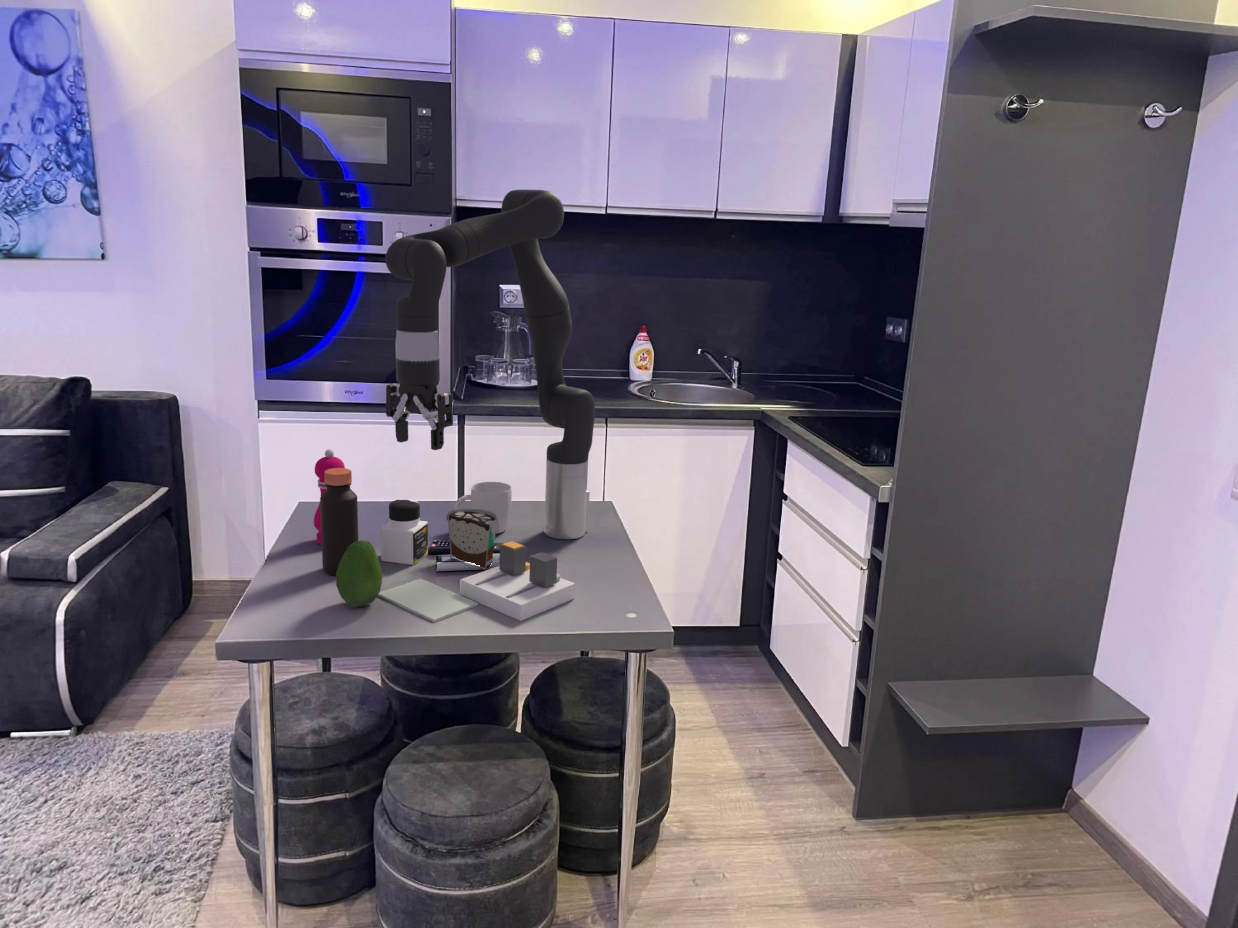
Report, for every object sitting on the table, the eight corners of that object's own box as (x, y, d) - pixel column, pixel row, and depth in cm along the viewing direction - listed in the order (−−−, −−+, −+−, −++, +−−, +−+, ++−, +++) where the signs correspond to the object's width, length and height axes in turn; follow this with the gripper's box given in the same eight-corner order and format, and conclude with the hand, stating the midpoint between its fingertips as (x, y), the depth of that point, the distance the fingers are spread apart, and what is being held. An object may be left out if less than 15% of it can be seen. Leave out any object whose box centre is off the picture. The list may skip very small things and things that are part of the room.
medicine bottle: (414, 565, 179) (413, 508, 176) (380, 561, 180) (379, 504, 177) (428, 553, 185) (428, 498, 182) (396, 549, 187) (395, 494, 184)
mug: (508, 522, 207) (509, 481, 204) (513, 535, 199) (514, 492, 196) (452, 524, 204) (452, 482, 202) (455, 537, 196) (455, 493, 193)
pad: (421, 580, 171) (421, 578, 171) (477, 605, 162) (477, 603, 162) (377, 595, 164) (377, 593, 164) (434, 622, 154) (434, 619, 154)
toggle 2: (540, 577, 168) (541, 552, 166) (556, 583, 165) (557, 557, 164) (529, 581, 165) (530, 556, 164) (545, 587, 163) (545, 561, 162)
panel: (514, 574, 177) (514, 556, 176) (574, 598, 167) (575, 579, 166) (459, 594, 166) (460, 575, 165) (520, 620, 156) (521, 600, 155)
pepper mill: (318, 534, 193) (315, 444, 188) (353, 535, 194) (350, 445, 188) (310, 546, 186) (306, 453, 181) (346, 547, 187) (343, 454, 182)
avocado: (390, 599, 163) (389, 536, 160) (369, 616, 155) (367, 551, 152) (350, 593, 164) (348, 531, 161) (327, 609, 157) (325, 545, 154)
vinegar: (344, 560, 179) (341, 464, 174) (366, 569, 176) (364, 471, 170) (315, 570, 174) (311, 471, 169) (337, 579, 170) (334, 478, 165)
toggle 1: (510, 565, 172) (511, 540, 171) (525, 571, 170) (526, 545, 169) (499, 569, 170) (499, 543, 169) (514, 575, 168) (514, 549, 166)
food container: (511, 562, 183) (512, 516, 181) (491, 571, 178) (492, 523, 175) (465, 548, 189) (466, 503, 187) (445, 556, 184) (445, 510, 182)
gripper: (462, 358, 157) (463, 448, 161) (404, 349, 164) (406, 435, 168) (432, 363, 151) (433, 456, 155) (373, 353, 158) (375, 442, 162)
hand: (419, 445), depth 162 cm, fingers open, 8 cm apart
